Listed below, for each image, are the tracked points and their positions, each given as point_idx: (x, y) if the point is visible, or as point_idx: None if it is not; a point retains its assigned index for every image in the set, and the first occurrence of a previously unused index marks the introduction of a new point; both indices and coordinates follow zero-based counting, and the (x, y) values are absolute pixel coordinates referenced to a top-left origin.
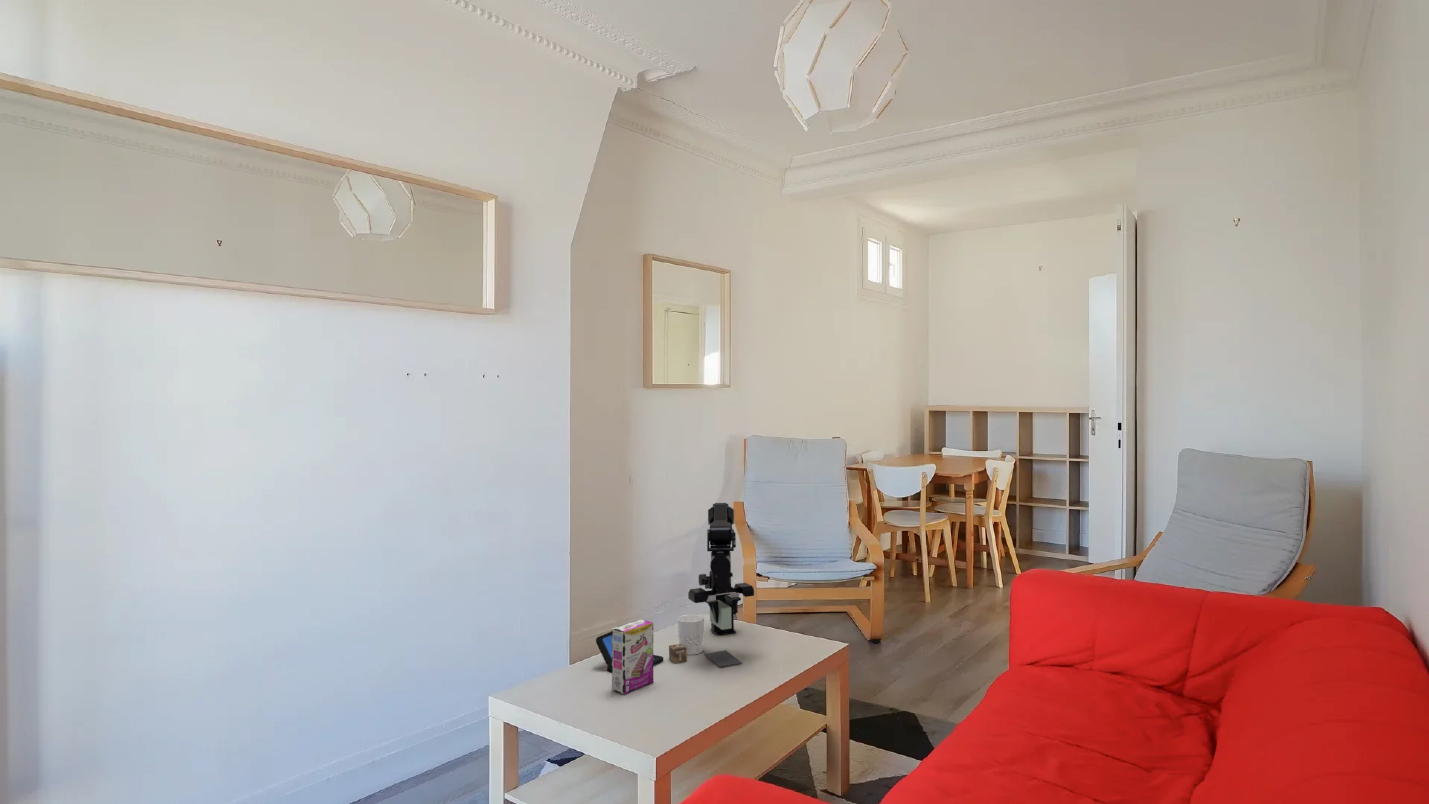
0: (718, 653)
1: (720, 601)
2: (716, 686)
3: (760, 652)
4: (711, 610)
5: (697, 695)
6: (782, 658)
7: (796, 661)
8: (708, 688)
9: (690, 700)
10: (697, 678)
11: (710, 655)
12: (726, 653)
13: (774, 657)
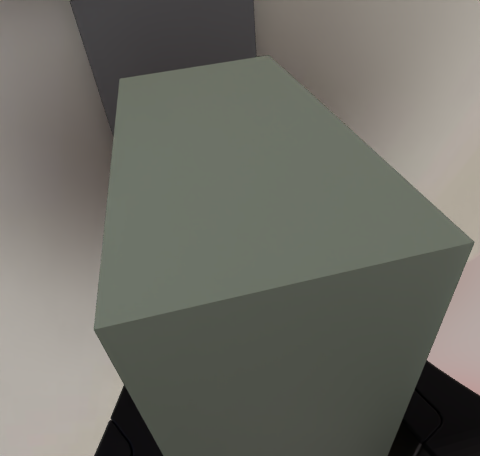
0: (182, 40)
1: (402, 367)
2: (108, 374)
3: (429, 65)
4: (108, 449)
5: (38, 418)
6: (452, 177)
7: (468, 218)
8: (78, 384)
9: (15, 439)
10: (33, 321)
11: (118, 67)
12: (235, 57)
13: (435, 158)
